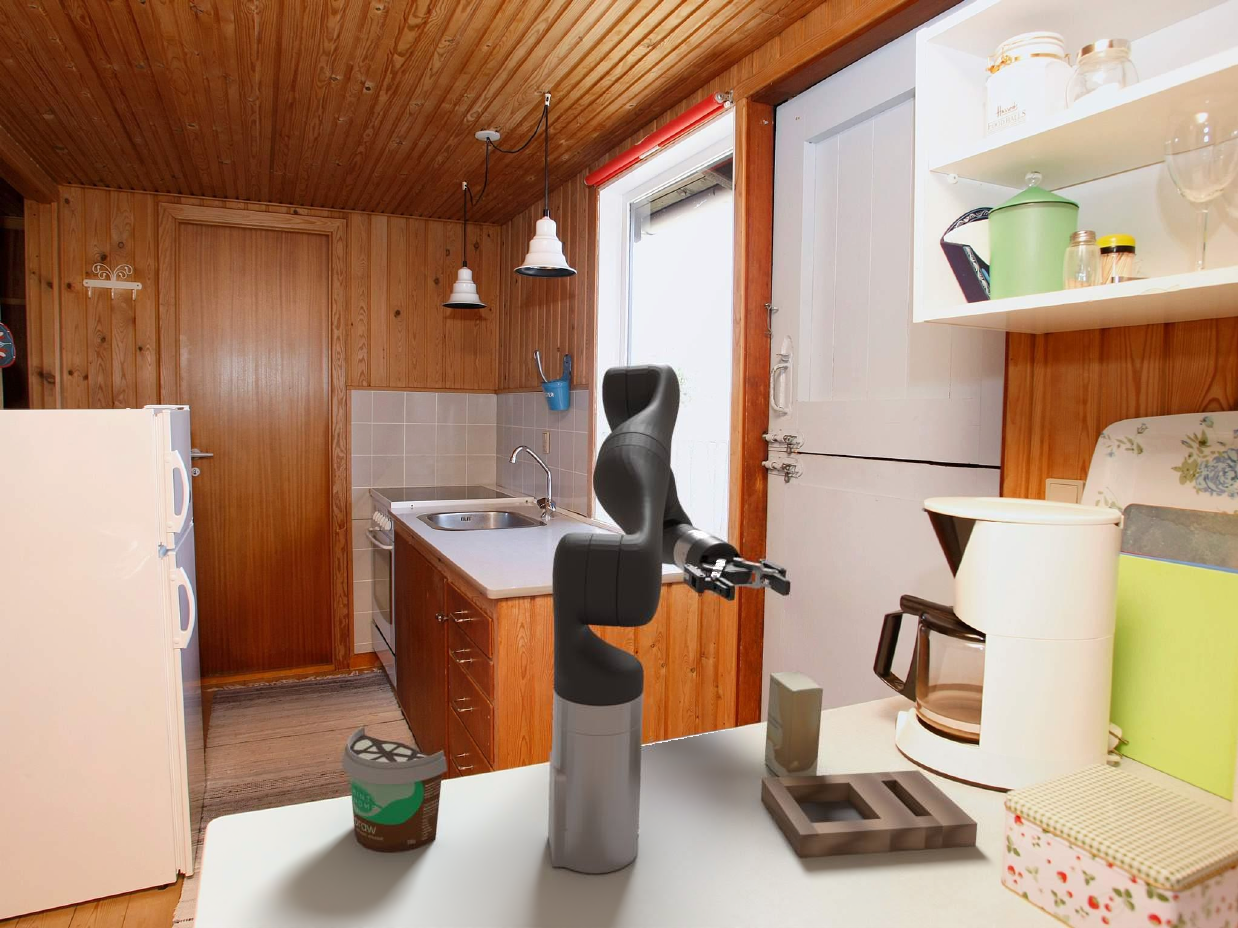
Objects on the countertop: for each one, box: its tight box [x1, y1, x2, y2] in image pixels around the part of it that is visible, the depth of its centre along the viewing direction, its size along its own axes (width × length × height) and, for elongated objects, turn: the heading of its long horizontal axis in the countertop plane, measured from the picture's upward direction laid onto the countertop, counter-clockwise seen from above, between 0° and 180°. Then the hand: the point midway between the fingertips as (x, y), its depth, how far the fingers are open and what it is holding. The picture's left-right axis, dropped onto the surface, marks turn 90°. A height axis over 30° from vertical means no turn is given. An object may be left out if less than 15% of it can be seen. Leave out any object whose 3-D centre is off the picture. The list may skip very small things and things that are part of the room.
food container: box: [341, 726, 448, 854], centre depth 83 cm, size 12×6×10 cm, turn 62°
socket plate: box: [760, 769, 978, 859], centre depth 90 cm, size 20×12×2 cm, turn 99°
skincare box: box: [764, 670, 824, 778], centre depth 101 cm, size 6×4×12 cm
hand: (760, 591), depth 108 cm, fingers open, 8 cm apart
